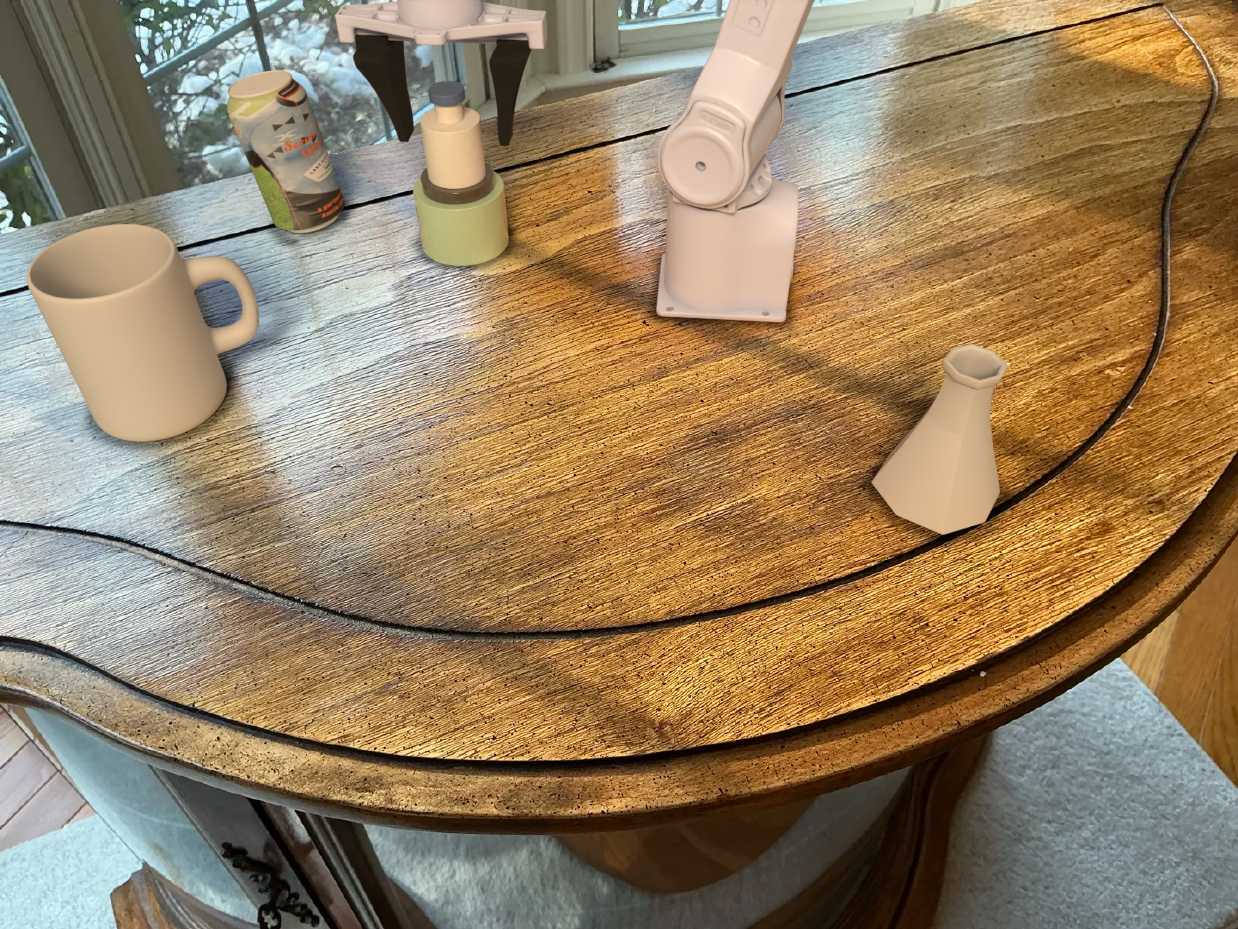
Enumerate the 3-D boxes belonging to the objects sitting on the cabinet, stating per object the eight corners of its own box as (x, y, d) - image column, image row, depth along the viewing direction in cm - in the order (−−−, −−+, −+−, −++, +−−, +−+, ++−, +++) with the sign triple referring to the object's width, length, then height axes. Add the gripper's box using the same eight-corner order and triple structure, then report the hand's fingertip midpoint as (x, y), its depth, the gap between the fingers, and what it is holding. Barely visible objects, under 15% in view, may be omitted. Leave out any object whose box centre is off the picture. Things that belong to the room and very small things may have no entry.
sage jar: (515, 221, 82) (509, 154, 78) (500, 268, 77) (493, 199, 73) (432, 217, 83) (422, 150, 78) (413, 264, 78) (401, 195, 73)
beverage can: (331, 246, 79) (296, 102, 71) (246, 236, 80) (202, 93, 72) (360, 206, 84) (331, 66, 75) (280, 197, 85) (242, 58, 76)
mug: (103, 460, 62) (29, 318, 54) (87, 382, 67) (17, 243, 60) (293, 401, 66) (249, 261, 58) (263, 333, 71) (219, 196, 64)
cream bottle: (490, 161, 77) (482, 76, 72) (480, 190, 74) (470, 102, 69) (435, 159, 77) (423, 73, 72) (422, 187, 74) (408, 100, 69)
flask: (925, 433, 64) (963, 306, 57) (1020, 497, 60) (1074, 368, 53) (849, 483, 60) (879, 355, 53) (944, 554, 56) (990, 426, 49)
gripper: (306, -39, 63) (348, 159, 72) (531, -32, 62) (543, 167, 71) (338, -74, 68) (373, 115, 77) (546, -68, 67) (556, 122, 76)
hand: (456, 137), depth 75 cm, fingers open, 7 cm apart
